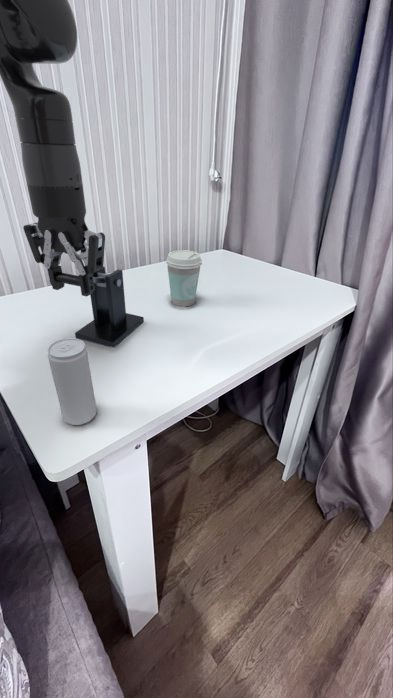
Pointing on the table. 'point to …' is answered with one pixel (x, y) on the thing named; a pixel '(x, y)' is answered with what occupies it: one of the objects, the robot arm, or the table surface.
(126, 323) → the bracket
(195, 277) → the coffee cup
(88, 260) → the robot arm
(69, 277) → the lever
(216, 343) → the table surface
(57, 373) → the beverage can
